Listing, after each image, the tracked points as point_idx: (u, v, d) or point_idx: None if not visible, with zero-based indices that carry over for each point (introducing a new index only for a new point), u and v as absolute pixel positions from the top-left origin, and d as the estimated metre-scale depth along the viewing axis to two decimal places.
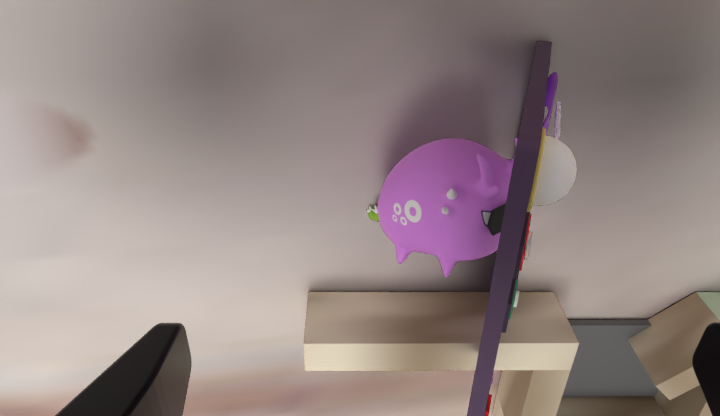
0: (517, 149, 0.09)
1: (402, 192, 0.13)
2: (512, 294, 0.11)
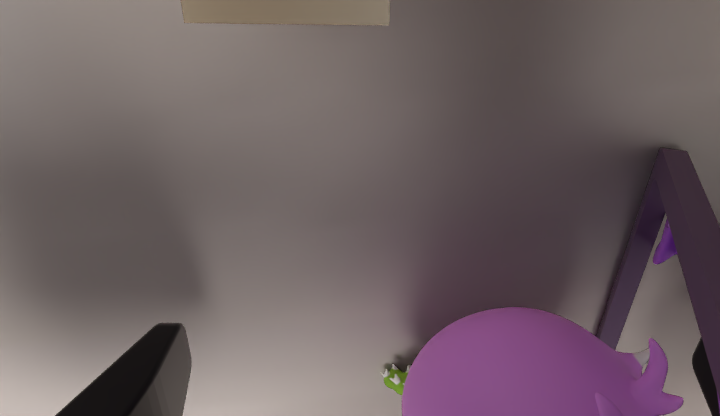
0: None
1: None
2: None
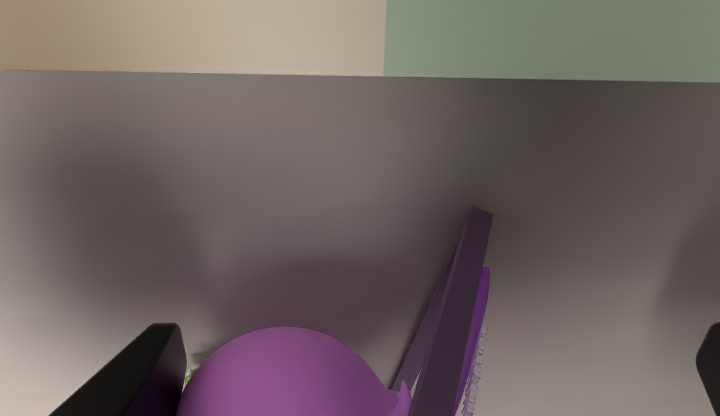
0: None
1: None
2: None
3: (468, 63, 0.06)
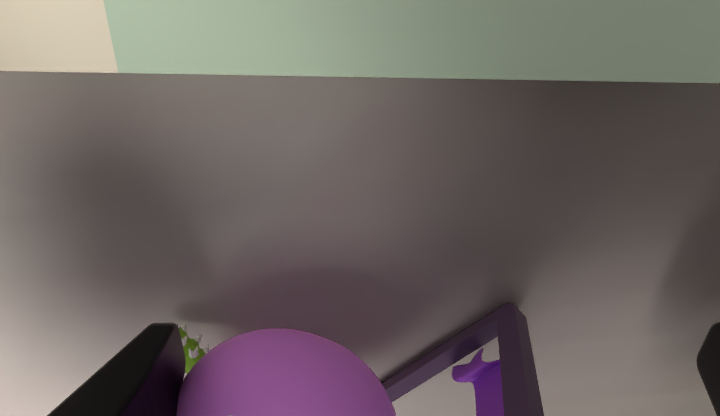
0: None
1: (256, 413, 0.08)
2: None
3: (199, 60, 0.06)
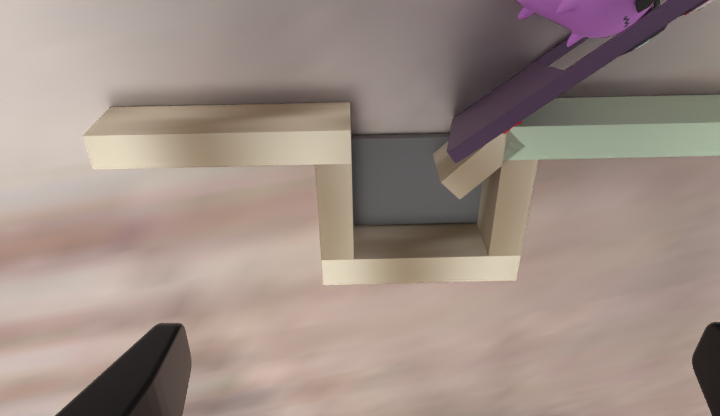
0: None
1: None
2: (665, 26, 0.12)
3: None
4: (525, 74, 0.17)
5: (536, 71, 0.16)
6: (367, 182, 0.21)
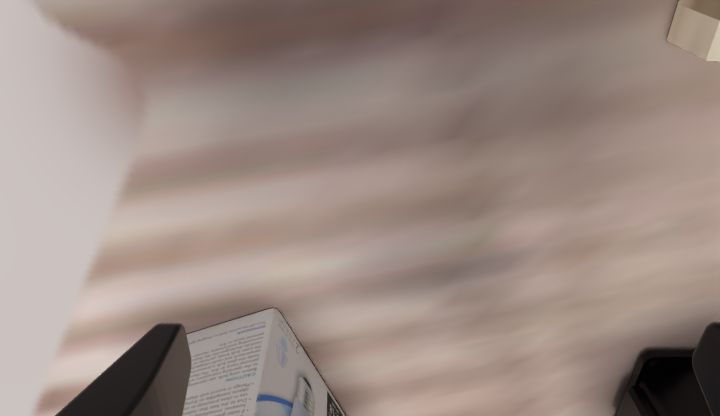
0: None
1: None
2: None
3: None
4: None
5: None
6: None
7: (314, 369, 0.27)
